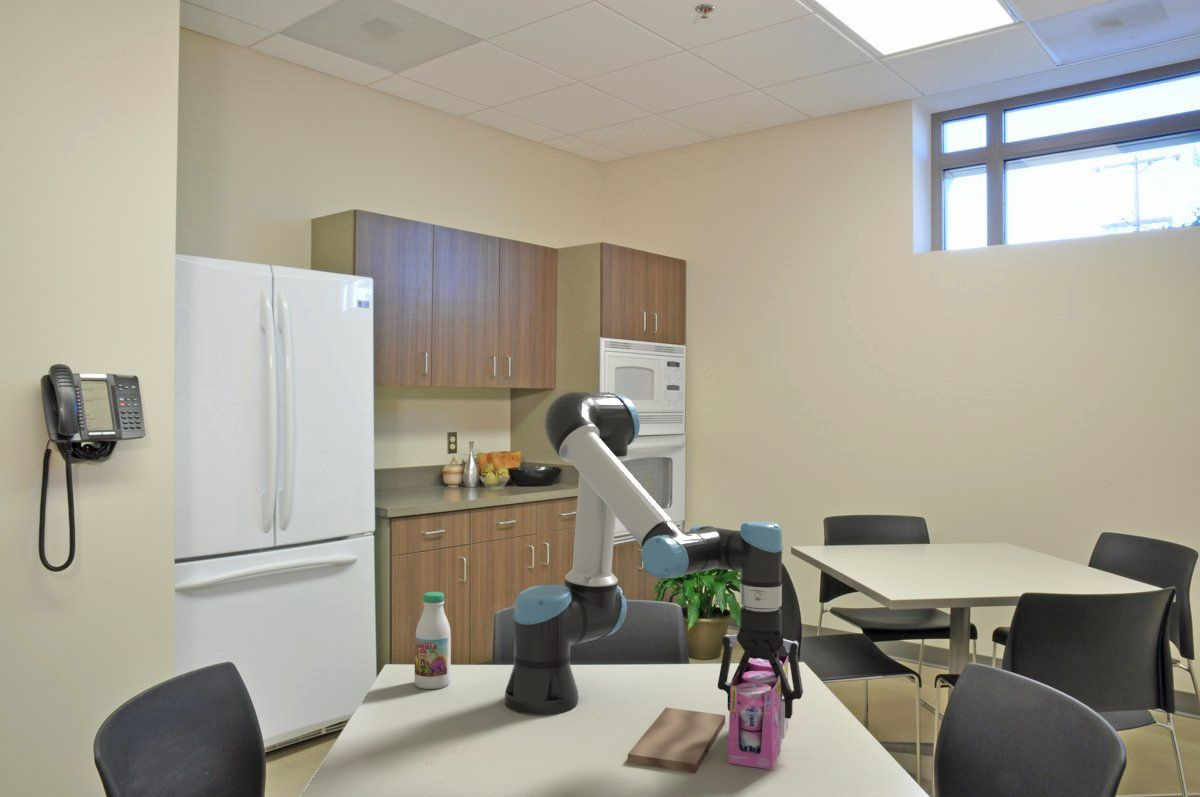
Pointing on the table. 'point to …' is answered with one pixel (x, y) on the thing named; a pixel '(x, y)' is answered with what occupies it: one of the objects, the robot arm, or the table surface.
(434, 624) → the milk bottle
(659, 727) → the walnut board
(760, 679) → the gum box
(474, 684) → the table surface
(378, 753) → the table surface
